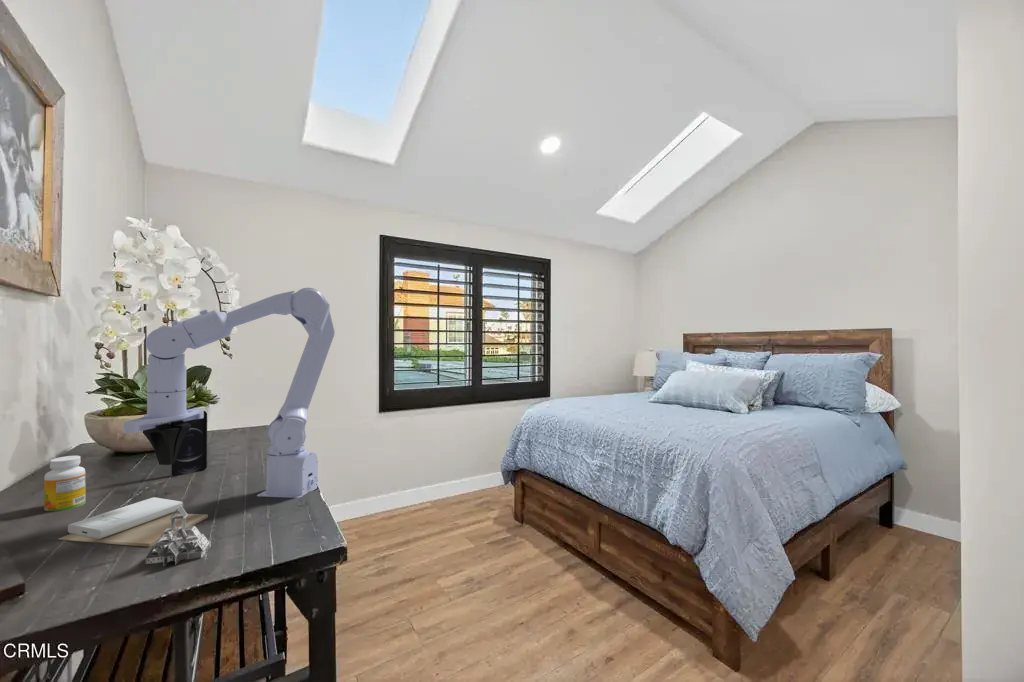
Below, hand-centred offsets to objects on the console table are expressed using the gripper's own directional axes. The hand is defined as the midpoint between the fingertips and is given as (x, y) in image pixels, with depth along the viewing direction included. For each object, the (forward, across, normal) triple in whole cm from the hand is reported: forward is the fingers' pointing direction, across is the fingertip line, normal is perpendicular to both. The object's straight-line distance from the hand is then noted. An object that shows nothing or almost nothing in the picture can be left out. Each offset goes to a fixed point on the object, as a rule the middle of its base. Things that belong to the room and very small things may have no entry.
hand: (167, 463), depth 79 cm
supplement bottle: (+9, +1, -20) cm, 22 cm away
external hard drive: (+8, 0, 0) cm, 8 cm away
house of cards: (+10, +17, +17) cm, 26 cm away
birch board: (+9, +8, +2) cm, 12 cm away
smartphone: (+9, -21, -15) cm, 27 cm away
